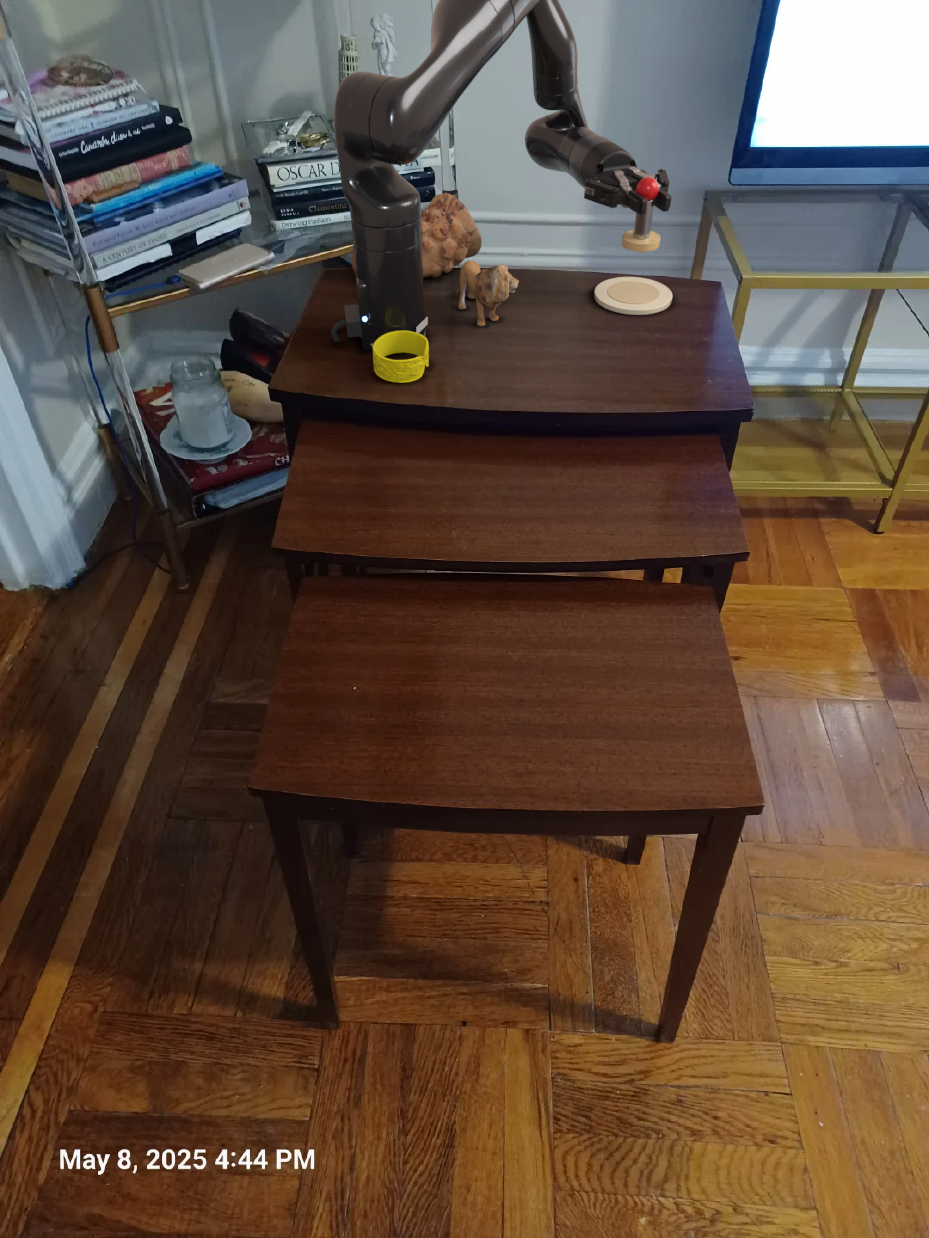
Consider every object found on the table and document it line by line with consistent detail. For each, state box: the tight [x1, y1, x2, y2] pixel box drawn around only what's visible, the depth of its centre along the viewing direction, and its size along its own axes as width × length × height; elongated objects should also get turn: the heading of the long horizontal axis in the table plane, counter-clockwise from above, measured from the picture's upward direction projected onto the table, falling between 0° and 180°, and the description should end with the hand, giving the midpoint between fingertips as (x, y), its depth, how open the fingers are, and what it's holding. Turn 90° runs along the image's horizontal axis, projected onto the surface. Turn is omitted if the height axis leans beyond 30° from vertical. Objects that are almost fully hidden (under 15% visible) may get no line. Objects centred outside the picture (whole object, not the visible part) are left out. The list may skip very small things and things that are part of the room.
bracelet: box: [372, 331, 430, 384], centre depth 120 cm, size 7×8×3 cm
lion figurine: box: [452, 259, 520, 327], centre depth 130 cm, size 15×5×9 cm, turn 33°
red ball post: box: [621, 177, 661, 253], centre depth 128 cm, size 6×6×9 cm
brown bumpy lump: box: [350, 192, 483, 279], centre depth 141 cm, size 19×11×15 cm
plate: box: [593, 276, 674, 316], centre depth 137 cm, size 12×12×1 cm
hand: (655, 206), depth 125 cm, fingers closed on red ball post, 3 cm apart
